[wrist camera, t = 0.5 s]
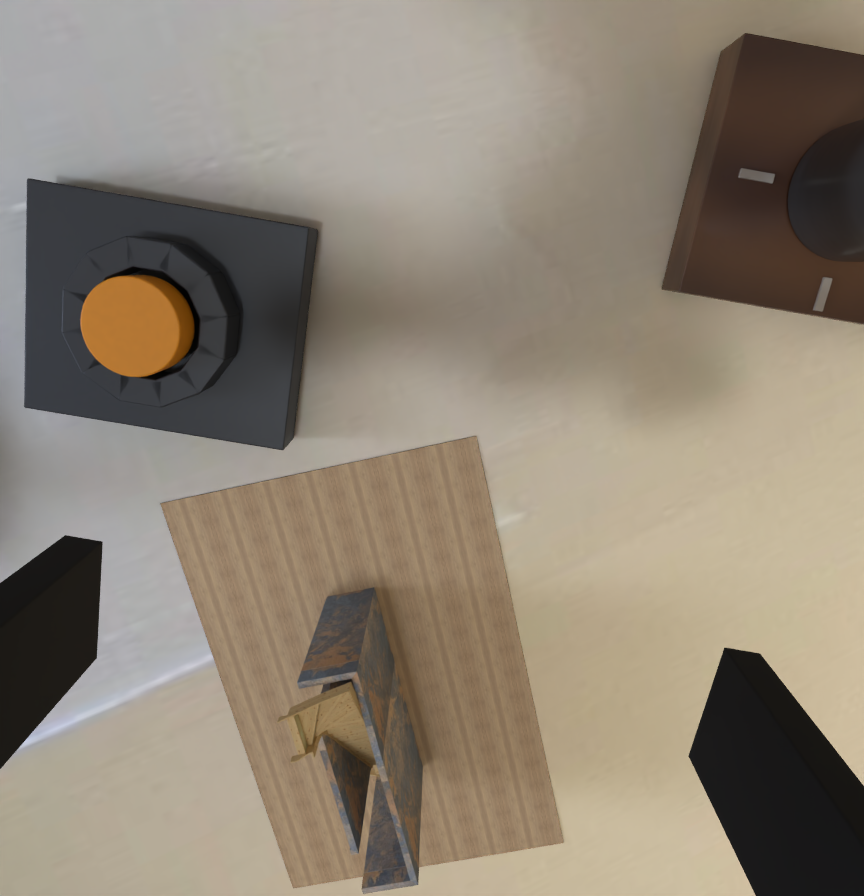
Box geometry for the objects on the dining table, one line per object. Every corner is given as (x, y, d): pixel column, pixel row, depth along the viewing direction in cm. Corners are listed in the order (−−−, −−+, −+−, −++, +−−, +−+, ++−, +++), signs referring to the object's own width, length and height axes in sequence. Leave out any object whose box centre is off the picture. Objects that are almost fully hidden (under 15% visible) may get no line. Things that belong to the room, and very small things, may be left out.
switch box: (54, 183, 31) (-1, 172, 27) (318, 229, 32) (300, 225, 28) (50, 398, 34) (-1, 416, 30) (293, 438, 34) (274, 461, 30)
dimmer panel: (720, 51, 29) (746, 31, 27) (992, 101, 30) (1044, 86, 27) (661, 289, 32) (680, 291, 29) (911, 333, 32) (952, 339, 30)
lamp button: (102, 267, 29) (80, 267, 27) (198, 284, 29) (183, 285, 27) (98, 362, 30) (77, 368, 28) (191, 378, 30) (176, 385, 28)
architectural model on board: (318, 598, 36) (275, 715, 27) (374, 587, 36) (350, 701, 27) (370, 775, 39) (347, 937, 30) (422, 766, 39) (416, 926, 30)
